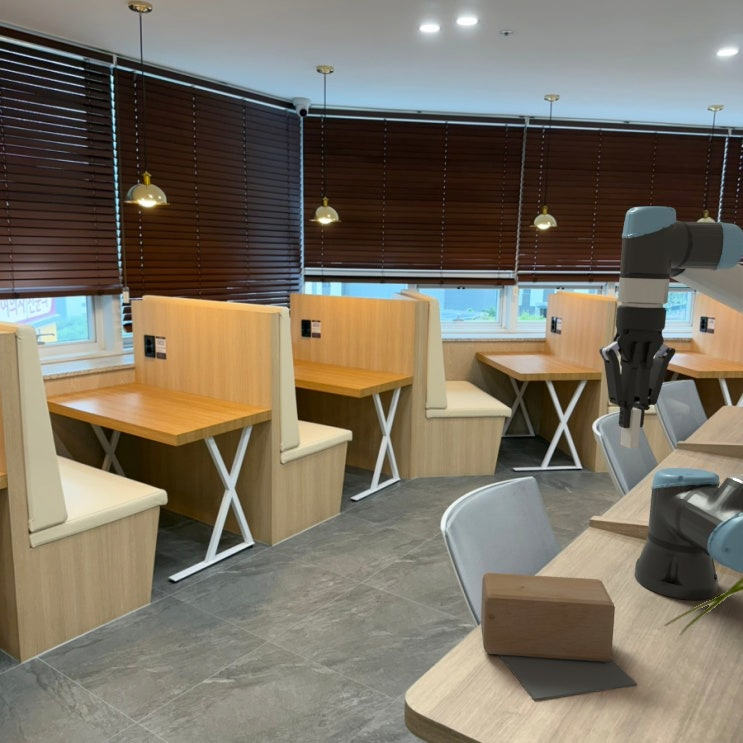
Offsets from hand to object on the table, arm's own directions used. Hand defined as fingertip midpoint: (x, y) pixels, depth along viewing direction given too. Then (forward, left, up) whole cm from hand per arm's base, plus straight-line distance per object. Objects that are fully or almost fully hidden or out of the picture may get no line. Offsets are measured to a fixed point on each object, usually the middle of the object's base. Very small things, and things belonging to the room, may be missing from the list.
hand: (629, 446), depth 115 cm
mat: (+15, +10, -32) cm, 37 cm away
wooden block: (+6, +7, -27) cm, 28 cm away
